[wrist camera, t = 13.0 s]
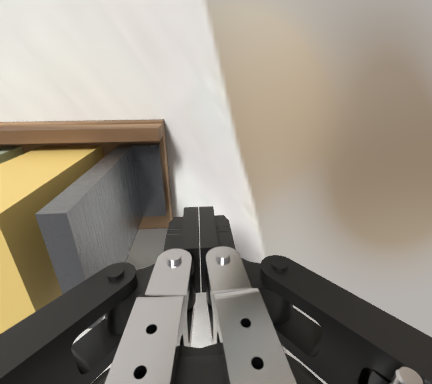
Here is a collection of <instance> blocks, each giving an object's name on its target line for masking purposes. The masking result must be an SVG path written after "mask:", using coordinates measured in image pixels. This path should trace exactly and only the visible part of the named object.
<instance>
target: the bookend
mask: <svg viewBox="0 0 432 384" xmlns="http://www.w3.org/2000/svg"><path fill="white" fill-rule="evenodd" d="M166 214H167V207H166V197H165V187H164V177H163V167H162V157H161V147H160V143H149V144H120V145H119V146H117V147H116V148H115V149H114V150H112V151H111V152H110V153H109V154H108V155H106V156H105V157H104V158H103V159H101V160H100V161H99V162H98V163H97V164H95V165H94V166H93V167H92V168H91V169H89V170H88V171H87V172H86V173H84V174H83V175H82V176H81V177H80V178H78V179H77V180H76V181H75V182H74V183H72V184H71V185H70V186H69V187H67V188H66V189H65V190H64V191H63V192H61V193H60V194H59V195H58V196H57V197H55V198H54V199H53V200H52V201H50V202H49V203H48V204H47V205H46V206H44V207H43V208H42V209H41V210H40V211H38V212H37V213H36V214H35V216H36V219H37V222H38V225H39V228H40V231H41V233H42V236H43V239H44V242H45V245H46V248H47V251H48V254H49V256H50V259H51V262H52V265H53V268H54V271H55V274H56V277H57V279H58V282H59V285H60V288H61V291H62V294H64V293H66V292H67V291H69V290H70V289H72V288H74V287H75V286H77V285H78V284H80V283H81V282H83V281H85V280H86V279H88V278H89V277H91V276H92V275H94V274H96V273H97V272H99V271H100V270H102V269H103V268H105V267H107V266H109V265H111V264H115V263H120V262H124V263H125V261H126V259H127V256H128V254H129V251H130V249H131V246H132V244H133V241H134V239H135V236H136V233H137V231H138V228H139V226H140V223H141V221H142V218H143V217H150V216H166ZM103 317H104V315H103V316H102V317H101V318H100V319H98V320H97V321H96V322H95V323H93V324H92V325H91V326H90V327H88V328H94V327H95V326H96V325H97V324H99V323H100V322H101V321H102V320H103ZM88 328H87V329H88Z"/></svg>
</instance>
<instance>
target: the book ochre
mask: <svg viewBox="0 0 432 384" xmlns="http://www.w3.org/2000/svg"><path fill="white" fill-rule="evenodd" d="M103 158H104V153H103V148H102V145H83V146H42V147H39V148H37V149H34V150H32V151H30V152H27V153H25V154H23V155H20V156H18V157H15V158H13V159H11V160H8V161H6V162H3V163H1V164H0V334H1V333H3V332H4V331H6V330H7V329H9V328H11V327H12V326H14V325H15V324H17V323H18V322H20V321H22V320H23V319H25V318H26V317H28V316H29V315H31V314H33V313H34V312H36V311H37V310H39V309H40V308H42V307H44V306H45V305H47V304H48V303H50V302H51V301H53V300H55V299H56V298H58V297H59V296H61V295H63V294H62V291H61V288H60V285H59V282H58V279H57V277H56V274H55V271H54V268H53V265H52V262H51V259H50V256H49V254H48V251H47V248H46V245H45V242H44V239H43V236H42V233H41V231H40V228H39V225H38V222H37V219H36V216H35V214H36V213H37V212H38V211H40V210H41V209H42V208H43V207H44V206H46V205H47V204H48V203H49V202H50V201H52V200H53V199H54V198H55V197H57V196H58V195H59V194H60V193H61V192H63V191H64V190H65V189H66V188H67V187H69V186H70V185H71V184H72V183H74V182H75V181H76V180H77V179H78V178H80V177H81V176H82V175H83V174H84V173H86V172H87V171H88V170H89V169H91V168H92V167H93V166H94V165H95V164H97V163H98V162H99V161H100V160H101V159H103Z"/></svg>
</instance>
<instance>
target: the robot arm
mask: <svg viewBox="0 0 432 384" xmlns="http://www.w3.org/2000/svg"><path fill="white" fill-rule="evenodd" d="M199 214H200V249H199V217H198V207H185V208H184V215H183V217H174V218H173V219H172V220H171V221H170V222H169V226H168V231H167V236H166V241H165V246H164V251H163V253H161V254H160V255H159V256H158V258H157V260H156V263H155V264H154V265H152V266H150V267H147V268H144V269H140V270H136V269H135V267H134V266H133V265H132V264H129V263H124V262H120V263H115V264H111V265H109V266H107V267H105V268H103V269H102V270H100V271H99V272H97V273H96V274H94V275H92V276H91V277H89V278H88V279H86V280H85V281H83V282H81V283H80V284H78V285H77V286H75V287H74V288H72V289H70V290H69V291H67V292H66V293H64V294H63V295H61V296H59V297H58V298H56V299H55V300H53V301H51V302H50V303H48V304H47V305H45V306H44V307H42V308H40V309H39V310H37V311H36V312H34V313H33V314H31V315H29V316H28V317H26V318H25V319H23V320H22V321H20V322H18V323H17V324H15V325H14V326H12V327H11V328H9V329H7V330H6V331H4V332H3V333H1V334H0V384H323V383H322V382H321V381H320V380H319V379H318V378H316V377H315V376H314V375H313V374H312V373H311V372H310V371H309V370H307V369H306V368H305V367H304V366H303V365H302V364H301V363H299V362H298V361H296V360H295V359H294V358H292V357H291V356H289V355H287V354H285V353H284V351H283V348H282V346H284V347H285V348H286V349H287V350H288V351H290V352H291V353H292V354H293V355H294V356H296V357H297V358H298V359H299V360H300V361H302V362H303V363H304V364H305V365H306V366H308V367H309V368H310V369H311V370H312V371H313V372H315V373H316V374H317V375H318V376H319V377H320V378H322V379H323V380H324V381H325V382H326V383H328V384H432V337H430V336H428V335H426V334H424V333H423V332H421V331H419V330H417V329H415V328H413V327H412V326H410V325H408V324H406V323H404V322H403V321H401V320H399V319H397V318H395V317H394V316H392V315H390V314H388V313H386V312H385V311H382V310H381V309H379V308H377V307H376V306H374V305H372V304H370V303H368V302H366V301H365V300H363V299H361V298H359V297H357V296H356V295H354V294H352V293H350V292H348V291H347V290H345V289H343V288H341V287H339V286H338V285H336V284H334V283H332V282H330V281H329V280H327V279H325V278H323V277H321V276H320V275H318V274H316V273H314V272H312V271H310V270H308V269H306V268H305V267H303V266H301V265H300V264H298V263H296V262H294V261H292V260H290V259H289V258H286V257H284V256H278V255H273V256H268V257H266V258H264V259H263V260H262V262H261V264H259V263H253V262H249V261H246V260H244V259H243V258H241V257H240V254H239V253H238V252H237V251H236V250H235V245H234V241H233V237H232V232H231V228H230V224H229V220H228V219H227V218H226V217H225V216H224V215H218V216H214V210H213V206H212V207H199ZM200 253H201V281H202V292H206V293H207V312H208V319H209V326H210V334H211V341H212V345H210V346H207V347H204V348H193V347H191V339H192V329H193V319H194V304H195V297H196V293H199V292H200ZM293 305H294V306H296V307H297V308H299V309H300V310H302V311H303V312H304V313H306V314H307V315H309V316H310V317H312V318H313V319H314V320H316V321H317V322H318V323H319V325H320V326H321V327H320V326H319V325H317V324H316V323H314V322H313V321H312V320H310V319H309V318H307V317H306V316H305V315H303V314H302V313H300V312H299V311H297V310H296V309H294V308H293ZM103 315H105V319H104V320H102V321H101V322H100V323H99V324H97V325H96V326H95V327H94V328H92V329H91V330H90V331H89V332H88V333H86V334H85V335H84V336H83V337H81V338H80V339H79V340H78V341H76V342H75V343H74V344H73V342H74V340H75V339H76V338H77V337H78V336H79V335H80V334H81V333H82V332H83V331H85V330H86V329H87V328H88V327H90V326H91V325H92V324H93V323H95V322H96V321H97V320H98V319H100V318H101V317H102V316H103ZM72 344H73V345H72ZM281 345H282V346H281ZM111 363H112V365H111V368H109V369H108V370H106V371H105V372H104V373H102V372H103V371H104V370H105V369H106V368H107V367H108V366H109V365H110V364H111ZM101 373H102V374H101ZM100 374H101V375H100ZM99 375H100V376H99ZM98 376H99V377H98ZM97 377H98V378H97ZM96 378H97V379H96Z"/></svg>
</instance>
